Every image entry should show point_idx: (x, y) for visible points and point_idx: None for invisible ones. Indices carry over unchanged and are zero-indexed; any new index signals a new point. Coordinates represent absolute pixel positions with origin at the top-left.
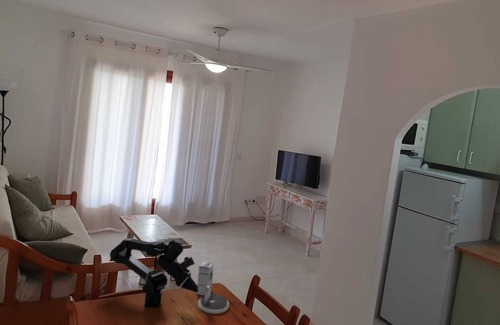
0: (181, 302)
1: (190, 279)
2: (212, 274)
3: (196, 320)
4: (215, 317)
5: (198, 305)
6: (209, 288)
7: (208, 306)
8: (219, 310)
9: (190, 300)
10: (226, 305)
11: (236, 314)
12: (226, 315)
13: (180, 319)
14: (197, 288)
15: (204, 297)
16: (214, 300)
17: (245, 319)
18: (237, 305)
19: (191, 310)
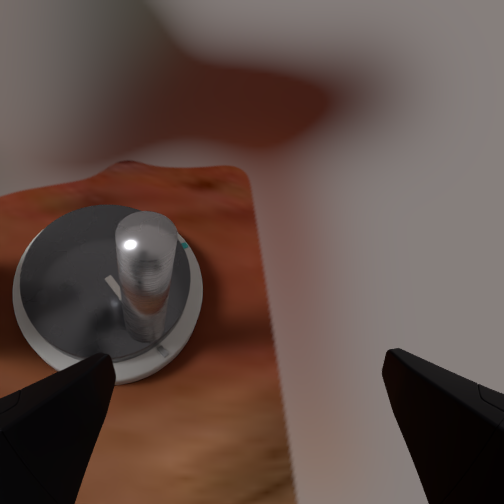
0: None
1: (18, 448)
2: None
3: (284, 410)
4: (239, 304)
5: None
6: (175, 237)
7: (177, 320)
8: (198, 267)
9: None
10: None
11: (204, 209)
12: (215, 249)
13: (285, 501)
14: (113, 367)
15: (52, 321)
16: (103, 267)
17: (244, 193)
18: (123, 187)
19: (160, 438)
